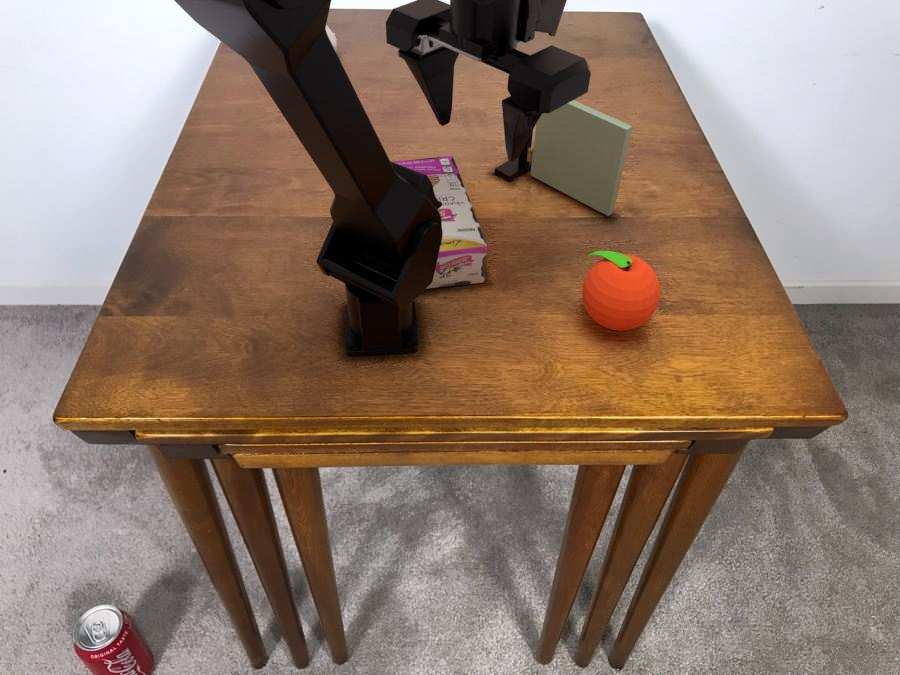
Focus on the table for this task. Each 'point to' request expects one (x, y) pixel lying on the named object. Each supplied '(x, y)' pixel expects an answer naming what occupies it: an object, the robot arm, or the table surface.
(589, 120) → the door
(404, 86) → the table surface
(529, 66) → the robot arm
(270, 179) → the table surface
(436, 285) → the candy bar box
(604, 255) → the clementine
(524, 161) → the hinge post
